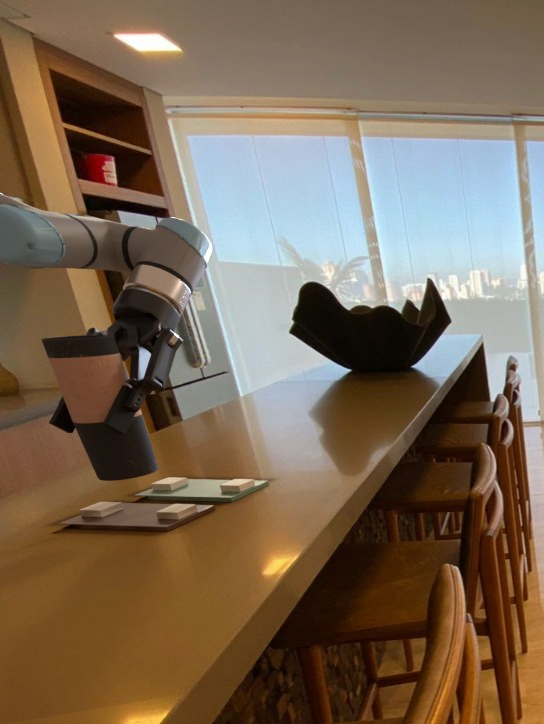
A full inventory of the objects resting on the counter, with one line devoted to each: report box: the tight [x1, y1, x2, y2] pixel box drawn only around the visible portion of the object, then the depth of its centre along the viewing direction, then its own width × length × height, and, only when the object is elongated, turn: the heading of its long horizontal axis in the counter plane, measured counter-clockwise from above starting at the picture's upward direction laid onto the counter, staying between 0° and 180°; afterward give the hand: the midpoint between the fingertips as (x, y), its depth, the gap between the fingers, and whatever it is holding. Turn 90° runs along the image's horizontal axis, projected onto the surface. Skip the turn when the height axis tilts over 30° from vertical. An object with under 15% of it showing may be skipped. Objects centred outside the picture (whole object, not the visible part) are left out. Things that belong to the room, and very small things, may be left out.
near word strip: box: [59, 501, 216, 533], centre depth 88 cm, size 18×9×2 cm, turn 85°
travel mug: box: [41, 334, 159, 482], centre depth 82 cm, size 8×8×20 cm
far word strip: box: [135, 476, 270, 503], centre depth 100 cm, size 18×9×2 cm, turn 85°
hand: (87, 428), depth 80 cm, fingers closed on travel mug, 8 cm apart
